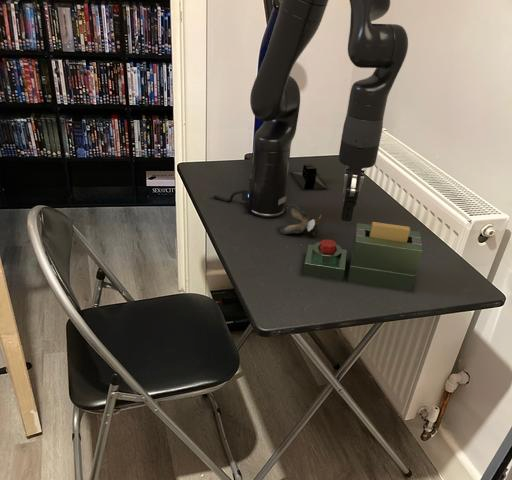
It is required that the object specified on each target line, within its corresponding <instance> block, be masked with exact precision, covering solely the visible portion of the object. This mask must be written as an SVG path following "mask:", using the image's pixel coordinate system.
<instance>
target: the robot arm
mask: <svg viewBox="0 0 512 480" xmlns="http://www.w3.org/2000/svg"><path fill="white" fill-rule="evenodd" d="M329 1H330V0H281V2H280V5H279V10H278V12H277V16H276V20H275V23H274V25H273V30H272V32H271V36H270V40H269V42H268V45H267V49H266V51H265V55H264V58H263V60H262V61H261V64H260V67H259V69H258V72H257V75H256V77H255V79H254V81H253V84H252V87H251V91H250V97H249V102H250V108H251V111H252V114H253V115H254V117H255V118H256V119H257V120H259V121H260V122H261V121H262V122H263V123H262V124H261V126H260V127H259V128H258V129H257V130H256V131H255V133H254V135H253V147H252V149H253V150H252V163H251V175H250V177H249V182H245V184H244V186H243V188H242V189H241V190H236V191H234V192H232V193H230V196H229V198H225V197H221V196H219V195H217V194H214V195H213V198H214V199H217V200H219V201H222V202H226V203H229V202H232V201H233V199H234V196H236V195H239V194H241V200H242V201H247V213H249V214H252V215H254V216H257V217H260V218H268V219H269V218H272V219H273V218H278V217H281V216H282V215H284V213H285V203H286V201H287V196H286V195H287V194H286V193H287V187H288V185H287V184H288V177H289V167H290V158H291V149H292V148H291V147H292V142H293V140H294V138H295V136H296V132H297V127H298V120H299V114H300V108H301V91H300V87H299V84H298V82H297V81H296V79H295V78H294V77H292V76H291V72H292V70H293V68H294V66H295V64H296V62H297V60H298V59H299V58H300V56H301V55H302V53H303V52H304V51H305V49H306V48H307V46H308V45H309V44H310V42H311V41H312V39H314V36H315V35H316V34H317V31H318V30H319V27H320V25H321V23H322V21H323V18H324V15H325V12H326V9H327V6H328V3H329ZM349 5H350V19H349V20H350V21H349V32H348V42H347V56H348V58H349V60H350V62H351V63H352V65H354V66H355V67H357V68H358V69H359V68H360V69H374V71H373V72H372V74H371V75H370V76H368V77H366V78H362V79H359V80H357V81H354V82H353V83H352V85H351V86H350V87H351V88H350V92H349V99H348V105H347V109H346V116H345V119H344V122H343V127H342V132H341V138H340V145H339V151H338V161H339V162H340V164H342V165H344V166H348V167H345V168H344V176H343V187H342V195H344V196H343V197H342V199H343V200H342V210H341V217H340V220H341V221H343V222H351V221H352V219H353V214H354V208H355V207H356V206H357V203H358V202H357V201H358V198H359V196H360V195H361V194H360V193H361V189H362V185H363V184H364V180H365V172H366V171H365V169H369V168H372V167H373V166H374V165H376V163H377V160H378V159H377V158H378V153H379V148H380V143H381V139H382V133H383V129H384V128H383V125H384V117H385V113H386V108H387V103H388V97H389V94H390V92H391V90H392V88H393V86H394V84H395V81H396V79H397V77H398V74H399V73H400V71H401V69H402V66H403V64H404V62H405V59H406V58H407V53H408V50H409V38H408V33H407V31H406V29H405V28H404V26H402V25H401V24H396V23H372V22H374V21H377V20H379V19H381V18H382V17H384V16H385V15H387V13H388V12H389V9H390V8H391V0H349Z"/></svg>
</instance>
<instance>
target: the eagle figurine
mask: <svg viewBox="0 0 512 480" xmlns="http://www.w3.org/2000/svg"><path fill="white" fill-rule="evenodd" d="M286 212H287V214H289V215H290V216H291V217H292V219H294V220H296V221H298V222H299V223H297V224H290V225H287V226H284V227H282V228H280V230H279V231H280V232H281V234H284V235H289V234H300V233H303V232H304V231H305V230H307V232H311V234H312V236H313V237H314V238H315V237H316V232H317V231H318V228H319V225H320V222H321V219H322V216H323V214H322V213H321V214H320V215H319V216H317V217H316V219H315V218H314V219H311V220H310V217H309V214H308V213H307V212H305V211H303V210H302V209H301V208H300V207H299V205H298V204H295V203H290V204H289V205H288V206H287V207H286Z"/></svg>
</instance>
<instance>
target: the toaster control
mask: <svg viewBox="0 0 512 480" xmlns="http://www.w3.org/2000/svg"><path fill="white" fill-rule="evenodd" d="M320 242H321V241H318V242H315V243H313V244H310V243H309V244H307V249H306V253H305V258H304V262H303V270H302V276H309V277H316V278H320V279H321V278H322V279H328V280H335V281H340V282H343V281H344V278H345V271H346V263H347V255H348V249H344V248H342V247H341V245H339V244H337V243H336V250H335V252H334V253H324V252H322V251H320V250H319V247H320Z"/></svg>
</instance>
